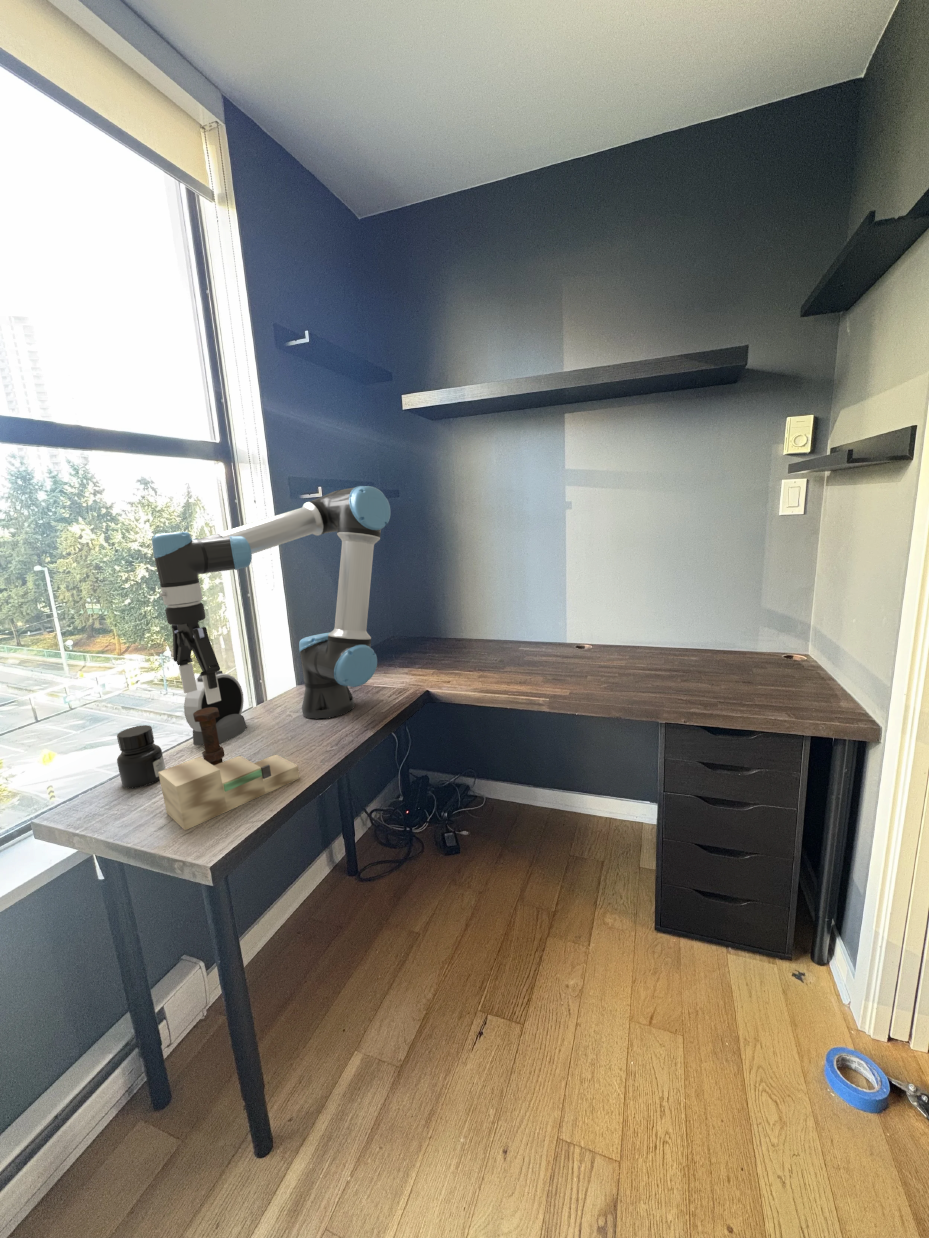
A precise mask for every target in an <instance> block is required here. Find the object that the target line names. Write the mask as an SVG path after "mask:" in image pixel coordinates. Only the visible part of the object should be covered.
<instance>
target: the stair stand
mask: <svg viewBox="0 0 929 1238" xmlns="http://www.w3.org/2000/svg"><path fill="white" fill-rule="evenodd" d="M158 774H159V778H160V780H159V782H160V788H161V792H162V796H163V797H162V798H163V802H164V805H165V811H166V814H167V815H169V817H170V818H171V819H172V820H173V821H174V822H176V824H178V826H180V827H181V828H182V829H183V830H184V831H187V830H189V829H192V828H193V827H196V826H198V825H200V824H203V823H205V822H207V821H209V820H211V819H214V818H215V817H218V816H220V815H222V814H225V813H226V812H229V811H231V810H233V809H235V808H237V807H240V806H243V805H245V804H247V803H249V802H251V801H253V800H255V799H258V798H260V797H262V796H264V795H267V794H270V793H271V792H273V791H275V790H277V789H279V788H282V787H284V786H287V785H288V784H291V783H293V782H294V781H295V782H296V781H297V780H299V779H301V778H300V771H299V766H298V764H296V763H294V762H291V761H290V760H287V759H286V758H283V757H282V756H280V755H278V754H274V755H271V756H268V757H266V758H264V759H261V760H258V761H255V762H252V761H250V760H248V759H247V758H246V757H244V756H242V755H237V756H234V757H233V758H232V757H231V758H229V759H227V760H225V761H223V762H222V763H219V764H216V765H214V766H213V765H212V764H210V763H209V762H207V761H206V760H204V758H203V757H201V756H197V757H195V758H193V759H190V760H187V761H185V762H182V763H179V764H177V765H173V766H171V767H167V768H165V770H162V771H160V772H158Z"/></svg>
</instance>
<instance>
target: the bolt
mask: <svg viewBox="0 0 929 1238" xmlns="http://www.w3.org/2000/svg"><path fill="white" fill-rule="evenodd" d="M193 716H194V720H195V722H199V724H200V727H201V731H202V738H203V742H204V745H203V747H204V750H203V751H202V753H201V754H202V758H203V759H204V760H206V761H207V762H209V763H210V764H212V765H213V766H214V765H216V764H219V763H222V762H224V761H223V758H224V756H225V755H226V754H225V750H224V747H223V746H221V744H219V740H218V733H217V728H216V719H215V718H216V717H219V711H218V708H215V707H209V708H204V709H200V710H197V711H196V712H194V713H193Z"/></svg>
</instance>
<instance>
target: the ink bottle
mask: <svg viewBox="0 0 929 1238" xmlns="http://www.w3.org/2000/svg"><path fill="white" fill-rule="evenodd" d="M116 738H117V744H118V747H119V751H120V753H119V755H118V757H117V759H116V764H117V767H118V772H119V773H118V774H119V775H120V776H119V777H120V782H121V785H122V786H123V787H124V788H125V789H138V788H142V787H145V786H149V785H152V784H154V783H156V782H158V781H159V782H160V778H159V774H158V772H160V771H162V770H165V769H166V764H165V759H164V755H163V751H162V747H160V745H157V744H156V743H155V736H154V732H153V727H152V725H144V724H143V725H137V726H133V727H129V728H127V729H123V730H121V731H120V732H119V733H117V734H116Z"/></svg>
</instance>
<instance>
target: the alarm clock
mask: <svg viewBox="0 0 929 1238" xmlns="http://www.w3.org/2000/svg"><path fill="white" fill-rule="evenodd" d="M216 675H217V680H218V686H219V691H220V696H221V701H218V702H215V703H211V704H207V700H206V694H205V689H204V684H203V679H202V676H200V674H199V676H197V678H195V681H196V686H197V690H196V691H192V692H189V693H185V696H184V703H183V713H184V717H185V720H186V723H187V724H188V725H189V727H190V728H191V729H192V743H193V745H194V746H204V742H203V738H202V731H201V727H200V724H199V722H195V720H194V716H193V713H194V712H196V711H197V710H200V709H204V708H209V707H215V708H218V711H219V717H216V718H215V719H216V728H217V733H218V740H219V744H220V745H221V744H223V743H226V742H228V741H230V740H232V739H234V738H236V737H238V736H240V735H241V734H242V733H243V732H244V730H245V729H246V730H247V728H248V727H247V722H246V720H245V716H244V715H242V712H243V709H244V702H245V701H244V700H245V699H244V692H243V689H242V686H241V684H240V682H239V681H238V679H236V677H234V676H232V675H231V674H228V673H227V674H226V673H223V671H222V670H219V671H217V672H216ZM246 730H245V731H246Z"/></svg>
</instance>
